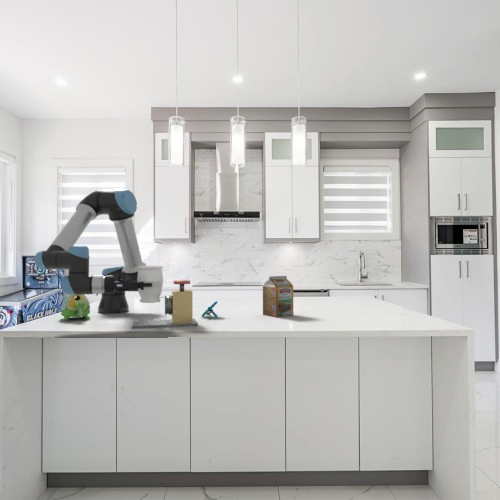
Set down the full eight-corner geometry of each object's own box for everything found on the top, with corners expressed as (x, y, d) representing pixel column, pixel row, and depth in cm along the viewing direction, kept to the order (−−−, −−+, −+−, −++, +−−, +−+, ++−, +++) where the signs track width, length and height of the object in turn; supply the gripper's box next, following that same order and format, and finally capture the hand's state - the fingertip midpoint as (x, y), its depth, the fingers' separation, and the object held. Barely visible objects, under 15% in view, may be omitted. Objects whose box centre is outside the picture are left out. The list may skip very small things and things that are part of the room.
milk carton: (275, 317, 182) (275, 276, 183) (262, 314, 191) (262, 275, 191) (293, 315, 188) (293, 276, 188) (280, 313, 197) (279, 275, 197)
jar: (156, 303, 156) (156, 266, 157) (132, 303, 158) (132, 266, 159) (167, 300, 167) (167, 265, 167) (144, 300, 169) (144, 265, 169)
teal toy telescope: (205, 311, 191) (218, 297, 188) (213, 320, 190) (226, 306, 188) (196, 318, 180) (210, 303, 178) (205, 327, 180) (219, 312, 177)
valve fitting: (133, 323, 167) (133, 280, 167) (194, 320, 173) (194, 279, 174) (131, 328, 154) (132, 282, 155) (197, 325, 161) (197, 281, 161)
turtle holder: (65, 323, 168) (65, 295, 168) (58, 318, 183) (58, 292, 183) (95, 320, 175) (95, 294, 175) (86, 315, 190) (86, 291, 190)
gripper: (107, 291, 169) (159, 290, 175) (100, 296, 147) (160, 295, 152) (107, 274, 170) (159, 273, 175) (100, 276, 147) (160, 275, 153)
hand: (160, 283), depth 164 cm, fingers closed on jar, 10 cm apart
